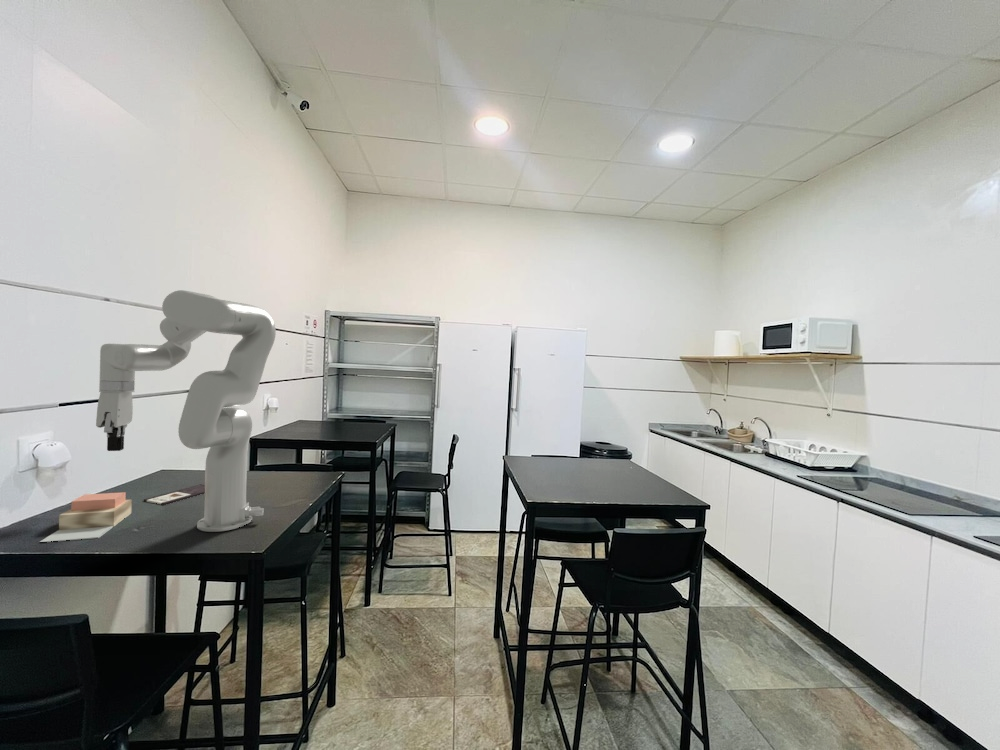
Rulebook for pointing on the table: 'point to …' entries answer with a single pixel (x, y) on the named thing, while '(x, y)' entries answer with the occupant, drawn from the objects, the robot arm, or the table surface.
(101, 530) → the mat
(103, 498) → the pink rubber eraser
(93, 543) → the table surface
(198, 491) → the chocolate bar
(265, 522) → the table surface
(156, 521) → the table surface
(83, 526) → the wooden block
